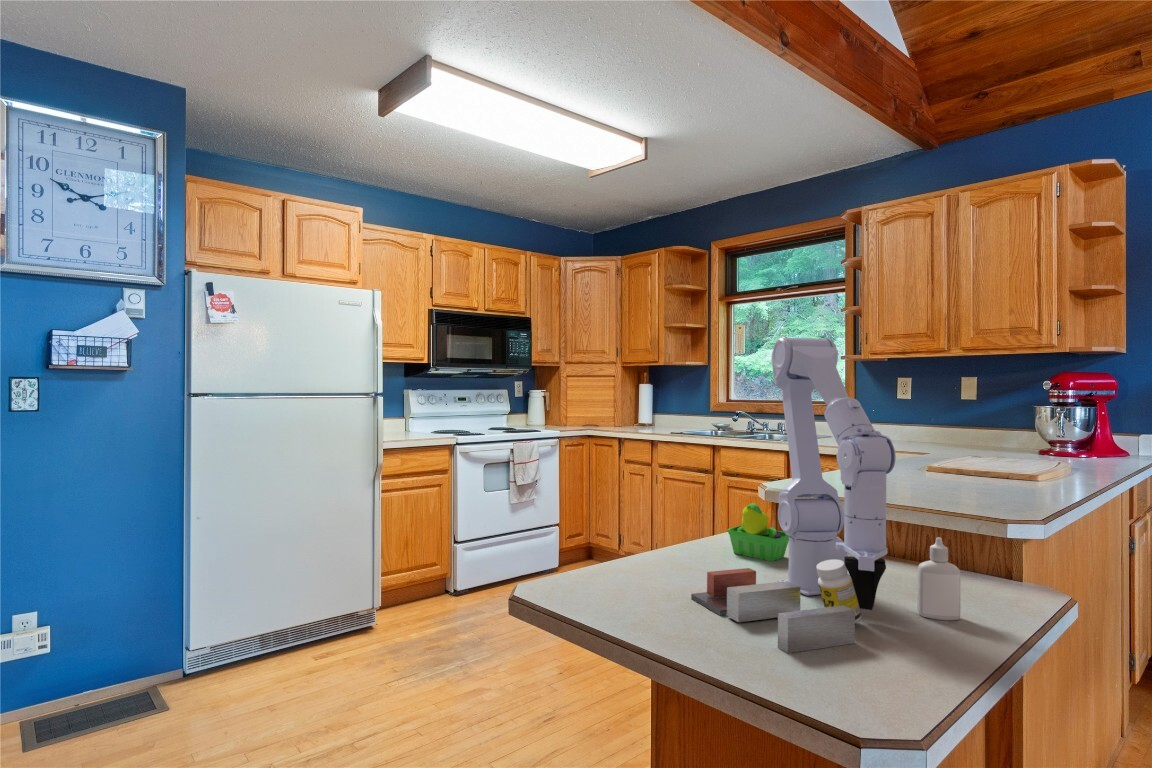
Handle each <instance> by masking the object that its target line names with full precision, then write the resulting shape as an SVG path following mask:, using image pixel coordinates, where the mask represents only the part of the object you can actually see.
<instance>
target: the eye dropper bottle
mask: <svg viewBox="0 0 1152 768" xmlns="http://www.w3.org/2000/svg"><path fill="white" fill-rule="evenodd" d="M943 543H944V542H943V539H942V537H939V536H938V537H936V538H935V543H934V544H931V545H930V546H929V559H930V560H925V561H923V562H920V563H919V564H918V566H917V595H916V596H917V612H918V613H919V615H920V616H922V618H926V619H930V620H931V619H932V620H940V621H959V620H960V619H961V570H960V568H959V567H957V566H956V564H953V563H951V562H948V561H949V547H947V546H945V545H944V544H943Z"/></svg>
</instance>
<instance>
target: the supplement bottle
mask: <svg viewBox="0 0 1152 768" xmlns="http://www.w3.org/2000/svg"><path fill="white" fill-rule="evenodd" d="M816 568H817V573H818V576H819V579H818V585H819V588H820V592H821V594H820V596H821V599H822V603H823V607H824V608H826V607H834V606H842V605H845V606H847V607H850V608H852V609H854V610H855V624H856V623H858V622H859V621H860V620H861V619H862V611H861V609H860V607H859V604H858V600H857V596H856V593H855V589H854V586H853V582H852V579H851V576H850V575H849V572H848V570H847V571H846V567H845V564H844V562H843V561H841V560H836V559H833V560H826V561H823V562H820V563H819V564H817V566H816Z"/></svg>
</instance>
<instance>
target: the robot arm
mask: <svg viewBox="0 0 1152 768" xmlns="http://www.w3.org/2000/svg"><path fill="white" fill-rule="evenodd" d="M773 345H774V346H773V350H772V352H771V366H772V375H773V380H774V385H775V386H777V387H778V388H779V389H780V390H781V396H782V397H781V398H782V405H783V414H784V420H785V429H786V437H787V438H786V439H787V445H788V446H787V447H788V453H789V462H790V472H791V479H792V480H791V481H790V482H789V483H788V484H787V485H786V486H784V487H783V488H782V489H781V490H780V491H779V493H778V509H777V519H778V523H779V527H780V528H781V530H782V532H785V534H786V535H789V541H788V575H787V576H788V577H787V578H785V579H777V582H784V581H788V582H791V583H793V584H795V585H798V586H800V587H801V588H800V594H802V595H804V596H815V595H817V596H818V595H821V592H820V588H819V585H818V579H819V576H818V573H817V568H816V566H817V564H819V563H820V562H823V561H826V560H833V559H836V560H841V561H843V562H844V564H845V567H846V571H847V573H848V574H849V575H850V576H851V579H852V582H853V586H854V589H855V593H856V596H857V600H858V604H859V607H860V610H868V611H872V610H873V608H874V605H875V600H876V596H877V590H878V586H879V583H880V580H881V578H882V576H883V575H884V573H885V571H886V569H887V565H886V560H885V559H884V558H883V557H885V556H887V554H888V547H887V475H888V474H890V473H891V472H892V471H893V470H894V467H895V464H896V459H897V458H896V457H897V456H896V450H895V447H894V444H893V441H892V439H891V438H890V437H889V436H887V435H885V434H882V433H881V431H879V430H876V429H874V428H875V427H874V426H873V425H872V423H871V421H870V419H869V416H868V415H867V414H866V411H865V410H864V408H863V406H862V404H861V403H860V401H859V400H858V399H856V398H853V397H849V396H848V395H849V394H848V393H847V390H846V388H845V385H844V382H843V380H842V377H841V376H840V374H839V373H840V372H839V371H838V368H837V365H838V360H839V359H838V358H839V350H838V348H837V345H836V343H835V342H834V341H833V338H830V337H823V338H817V337H816V338H814V337H813V338H811V337H808V338H807V337H787V336H780V337H779V338H778V339H777V340H776V342H775V343H774V344H773ZM814 390H816V391H817V392H818V394H819V395H820V397H821V399H822V400H823V402H824V403H825V405H826V406H827V407H826V408H825V411H824V414H823V415H824V418H825V421H826V423H827V425H828V427H829V429H830V431H831V433H832V436H833V437H834V439H835V441H836V443H837V446H838V448H837V452H836V461H837V466H838V468H839V472H840V480H841V484H842V485H844V499H843V500H844V503H843V504H844V508H843V506H842V504H841V501H840V498H839V494H838V490H837V489H836V488H835V487H834V486H833V485H831V484H830V483H828V482H827V481H826V480H824V478H823V471H822V464H821V457H820V456H821V455H820V450H819V443H818V434H817V427H816V421H815V413H814V406H813V397H812V393H813V391H814ZM843 528H844V529H843ZM842 530H843V531H844V532H843V539H841V538H840V537H839V536H838V534H840V533H841V531H842ZM848 554H849V555H850V556H849V555H848Z"/></svg>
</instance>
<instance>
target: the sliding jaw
mask: <svg viewBox="0 0 1152 768" xmlns="http://www.w3.org/2000/svg"><path fill="white" fill-rule="evenodd" d="M706 574H707V575H706V592H707V594H709V595H711V596H712V597H720V596H727V615H726V617H729V618H730V619H732V620H734V621H735V622H737V623H744V622H752V621H759V620H767V619H775V618H777V619H778V613H785V612H793V611H801V593H800V588H801V587H800V586H798V585H795V584H793V583H791V582H788V581H784V582H778V581H776V582H765V583H758V584H757V571H756V570H755V569H752V568H749V567H744V568H735V569H723V570H713V571H707V572H706Z"/></svg>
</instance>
